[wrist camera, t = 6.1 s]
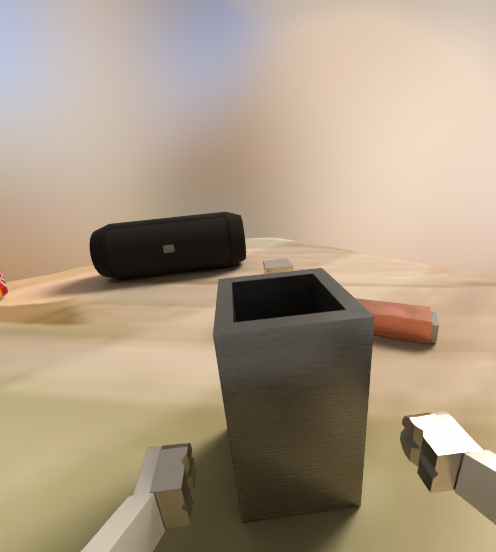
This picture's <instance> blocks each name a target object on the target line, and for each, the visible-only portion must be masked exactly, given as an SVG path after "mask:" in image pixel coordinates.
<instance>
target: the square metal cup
mask: <svg viewBox="0 0 496 552" xmlns="http://www.w3.org/2000/svg"><path fill="white" fill-rule="evenodd" d="M374 317H375V316H373V315H372V314H371V313H370V312H369V311H368V310H367V309H366V308H365V307H364V306H363V305H362V304H360V303H359V302H358V301H357V300H356V299H355V298H354V297H353V296H352V295H351V294H350V293H348V292H347V291H346V290H345V289H344V288H343V287H342V286H341V285H340V284H339V283H338V282H337V281H335V280H334V279H333V278H332V277H331V276H330V275H329V274H328V273H327V272H326V271H325V270H323V269H322V268H317V269H308V270H299V271H290V272H280V273H271V274H262V275H253V276H244V277H234V278H225V279H219V281H218V291H217V301H216V311H215V321H214V331H213V338H214V344H215V351H216V357H217V364H218V370H219V377H220V383H221V390H222V396H223V403H224V409H225V416H226V422H227V428H228V435H229V441H230V448H231V454H232V461H233V467H234V474H235V480H236V487H237V493H238V500H239V506H240V513H241V519H242V522H249V521H256V520H263V519H271V518H278V517H285V516H292V515H299V514H306V513H313V512H320V511H328V510H335V509H342V508H349V507H356V506H361V494H362V480H363V467H364V453H365V439H366V426H367V412H368V398H369V385H370V371H371V358H372V344H373V330H374Z"/></svg>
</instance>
